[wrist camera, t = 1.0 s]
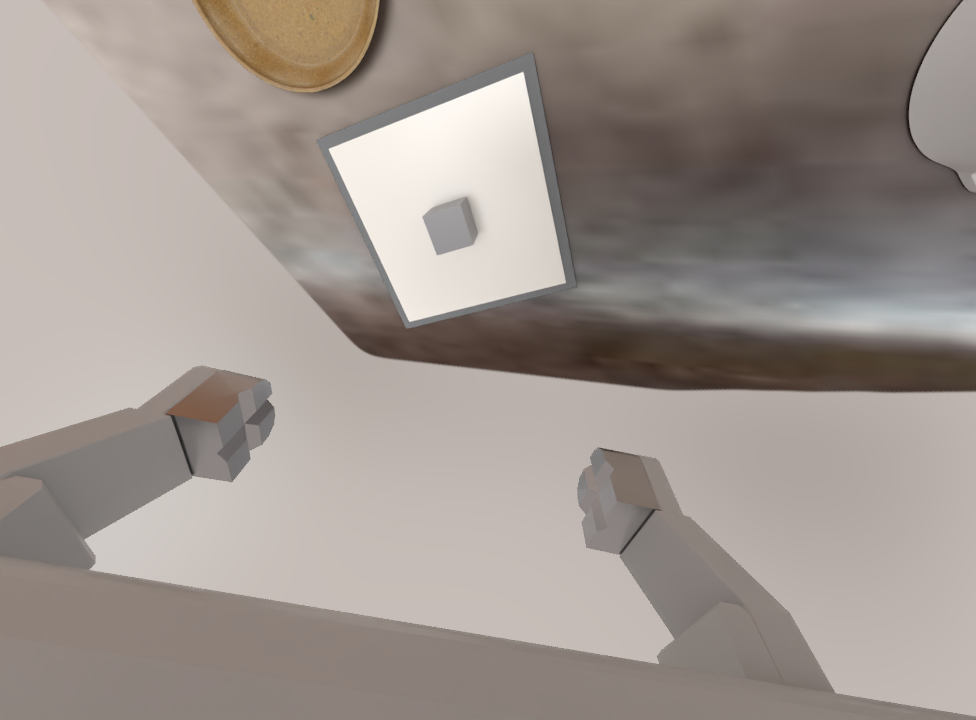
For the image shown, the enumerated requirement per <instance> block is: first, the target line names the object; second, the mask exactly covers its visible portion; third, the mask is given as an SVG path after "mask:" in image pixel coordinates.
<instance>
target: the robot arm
mask: <svg viewBox="0 0 976 720" xmlns="http://www.w3.org/2000/svg"><path fill="white" fill-rule="evenodd" d="M909 125H910V131H911V134H912V137H913V140H914V142H915V144H916V145H917V147H918V148H919V150H920V151H921V152H922V153H923V154H924V155H925V156H926V157H928V158H929V159H931V160H933V161H935V162H937V163H939V164H942V165H945V166H947V167H950V168H952V169H954V170H955V171H956V172H957V173H958V175H959V177H960V179H961V181H962V183H963V185H964V186H965V187H966V188H967V189H968V190H969V191H971V192H976V0H963V1H962V2H961V4H960V5H959V6H958V7H957V8H956V10H955V11H954V12H953V14H952V15H951V16H950V18H949V19H948V20H947V22H946V23H945V25H944V26H943V27H942V29H941V30H940V32H939V33H938V35H937V37H936V38H935V40H934V42H933V43H932V45H931V47H930V49H929V50H928V52H927V54H926V56H925V58H924V60H923V62H922V65H921V67H920V69H919V72H918V74H917V77H916V80H915V83H914V86H913V90H912V94H911V99H910V106H909ZM271 394H272V390H271V384H270V382H268V381H267V380H265V379H260V378H256V377H252V376H247V375H243V374H239V373H234V372H230V371H225V370H219V369H215V368H210V367H206V366H198V367H194V368H192V369H191V370H189V371H188V372H187V373H185V374H184V375H183V376H181V377H180V378H179V379H177V380H176V381H174V382H173V383H172V384H170V385H169V386H168V387H166V388H165V389H164V390H162V391H161V392H160V393H158V394H157V395H156V396H154V397H153V398H151V399H150V400H149V401H147V402H146V403H145V404H143V405H142V406H141V407H139V408H138V409H133V408H127V409H124V410H120V411H117V412H114V413H110V414H107V415H104V416H101V417H98V418H94V419H91V420H88V421H84V422H81V423H78V424H74V425H71V426H68V427H65V428H61V429H58V430H55V431H52V432H48V433H45V434H42V435H38V436H35V437H32V438H29V439H25V440H22V441H19V442H16V443H13V444H9V445H6V446H2V447H0V720H976V717H975V716H969V715H963V714H957V713H951V712H945V711H939V710H933V709H927V708H921V707H915V706H909V705H903V704H897V703H891V702H885V701H879V700H873V699H866V698H861V697H854V696H849V695H843V694H836V693H835V692H834V690H833V688H832V686H831V685H830V683H829V681H828V679H827V678H826V676H825V674H824V673H823V671H822V669H821V667H820V665H819V663H818V662H817V660H816V658H815V656H814V655H813V653H812V651H811V649H810V648H809V646H808V644H807V643H806V641H805V639H804V637H803V635H802V634H801V632H800V630H799V629H798V627H797V625H796V623H795V621H794V620H793V618H792V616H791V614H790V613H789V612H788V611H787V610H786V609H785V608H784V607H783V606H782V605H781V604H780V603H779V602H778V601H777V600H776V599H775V598H774V597H773V596H772V595H770V593H768V592H767V591H766V590H765V589H764V588H763V587H762V586H761V585H760V584H759V583H758V582H757V581H756V580H755V579H754V578H753V577H752V576H751V575H750V574H748V572H747V571H746V570H745V569H744V568H742V567H741V566H740V565H739V564H738V563H737V562H736V561H735V560H734V559H733V558H732V557H731V556H730V555H729V554H728V553H727V552H725V550H724V549H723V548H722V547H721V546H720V545H719V544H717V543H716V542H715V541H714V540H713V539H712V538H711V537H710V536H709V535H708V534H707V533H706V532H705V531H704V530H703V529H702V528H701V527H700V526H699V525H698V524H697V523H696V522H695V521H693V520H692V519H691V518H690V517H688V516H684V515H683V513H682V511H681V509H680V507H679V504H678V502H677V500H676V498H675V495H674V493H673V491H672V489H671V486H670V484H669V482H668V480H667V477H666V475H665V473H664V471H663V468H662V466H661V464H660V462H659V461H658V460H657V459H656V458H651V457H646V456H640V455H634V454H629V453H624V452H619V451H613V450H608V449H603V448H597V449H596V450H594V452H593V453H592V455H591V457H590V459H591V464H592V465H591V466H589V467H587V468H585V469H584V470H583V472H582V474H581V476H580V478H579V483H578V503H579V506H580V508H581V509H582V510H583V511H584V512H585V514H586V516H585V517H584V519H583V521H582V526H583V531H584V537H585V542H586V547H587V548H591V549H595V550H600V551H605V552H609V553H614V554H619V555H620V558H621V559H622V561H623V562H624V564H625V565H626V567H627V568H628V570H629V571H630V573H631V574H632V576H633V577H634V579H635V580H636V581H637V583H638V585H639V586H640V588H641V589H642V591H643V592H644V594H645V595H646V597H647V598H648V600H649V601H650V603H651V604H652V605H653V607H654V609H655V610H656V612H657V613H658V615H659V616H660V618H661V619H662V620H663V622H664V623H665V625H666V626H667V628H668V629H669V631H670V633H671V634H672V635H673V637H674V640H673V641H672V642H671V643H670V644H668V645H667V646H666V647H665V648H664V649H662V650H661V652H660V653H659V654H658V656H657V657H658V661H659V664H654V663H648V662H642V661H636V660H630V659H624V658H618V657H612V656H606V655H600V654H594V653H588V652H581V651H575V650H570V649H564V648H558V647H552V646H546V645H540V644H533V643H527V642H522V641H515V640H509V639H503V638H497V637H491V636H485V635H479V634H473V633H467V632H461V631H455V630H449V629H443V628H437V627H430V626H425V625H419V624H413V623H407V622H401V621H394V620H389V619H383V618H376V617H371V616H364V615H358V614H352V613H346V612H340V611H334V610H328V609H322V608H316V607H310V606H304V605H298V604H292V603H286V602H280V601H274V600H268V599H262V598H256V597H249V596H243V595H237V594H231V593H225V592H219V591H212V590H207V589H201V588H194V587H189V586H182V585H176V584H171V583H165V582H158V581H152V580H146V579H140V578H134V577H128V576H122V575H116V574H110V573H104V572H97V571H92V570H89V569H90V568H91V567H92V566H93V565H94V564H95V555H94V553H93V552H92V550H91V549H90V548H89V546H88V545H87V543H86V542H85V541H84V539H85V538H87V537H89V536H91V535H93V534H94V533H96V532H98V531H100V530H101V529H103V528H105V527H107V526H108V525H110V524H112V523H114V522H116V521H117V520H119V519H121V518H123V517H124V516H126V515H128V514H130V513H131V512H133V511H135V510H137V509H138V508H140V507H142V506H144V505H145V504H147V503H149V502H151V501H153V500H154V499H156V498H158V497H160V496H161V495H163V494H165V493H167V492H168V491H170V490H172V489H174V488H175V487H177V486H179V485H180V484H182V483H184V482H186V481H188V480H189V479H191V478H192V476H197V477H203V478H209V479H216V480H223V481H228V482H233V480H234V479H235V478H236V477H237V475H238V474H239V473H240V472H241V470H242V469H243V468H244V466H245V465H246V464H247V463H248V462H249V460H250V450H252V449H254V448H256V447H258V446H260V445H262V444H263V442H264V441H265V440H266V439H267V437H268V436H269V434H270V432H271V430H272V427H273V425H274V419H275V411H274V407H273V406H272V404H271V403H270V402H269V401H268V400H267V399H268V397H269V396H270V395H271Z"/></svg>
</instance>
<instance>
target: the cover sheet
mask: <svg viewBox="0 0 976 720" xmlns="http://www.w3.org/2000/svg"><path fill="white" fill-rule="evenodd" d="M329 151H330V154H331V156H332V158H333V160H334V162H335V164H336V166H337V168H338V171H339V173H340V175H341V177H342V179H343V181H344V183H345V186H346V188H347V190H348V192H349V194H350V196H351V198H352V201H353V203H354V205H355V207H356V209H357V211H358V213H359V216H360V218H361V220H362V222H363V224H364V226H365V228H366V230H367V233H368V235H369V237H370V239H371V241H372V243H373V245H374V248H375V250H376V252H377V254H378V256H379V258H380V260H381V263H382V265H383V267H384V269H385V271H386V273H387V275H388V278H389V280H390V282H391V284H392V286H393V288H394V290H395V292H396V295H397V297H398V299H399V301H400V303H401V305H402V307H403V310H404V312H405V314H406V316H407V318H408V320H409V322H411V321H415V320H419V319H423V318H427V317H431V316H435V315H439V314H443V313H447V312H451V311H455V310H459V309H463V308H467V307H471V306H475V305H479V304H483V303H487V302H491V301H495V300H499V299H503V298H507V297H511V296H515V295H519V294H523V293H527V292H531V291H535V290H539V289H543V288H548V287H552V286H556V285H560V284H564V283H566V280H565V275H564V270H563V265H562V260H561V255H560V250H559V245H558V240H557V235H556V230H555V225H554V221H553V216H552V211H551V206H550V201H549V196H548V191H547V186H546V181H545V176H544V171H543V166H542V161H541V156H540V151H539V146H538V141H537V136H536V131H535V127H534V122H533V117H532V112H531V107H530V102H529V97H528V92H527V87H526V82H525V77H524V72H521V73H519V74H516V75H514V76H511V77H509V78H506V79H504V80H501V81H499V82H496V83H494V84H491V85H489V86H486V87H484V88H481V89H479V90H476V91H473V92H471V93H468V94H466V95H463V96H461V97H458V98H456V99H453V100H451V101H448V102H446V103H443V104H441V105H438V106H436V107H433V108H431V109H428V110H426V111H423V112H420V113H418V114H415V115H413V116H410V117H408V118H405V119H403V120H400V121H398V122H395V123H393V124H390V125H388V126H385V127H383V128H380V129H378V130H375V131H372V132H370V133H367V134H365V135H362V136H360V137H357V138H355V139H352V140H350V141H347V142H345V143H342V144H340V145H337V146H335V147H332V148H330V149H329Z"/></svg>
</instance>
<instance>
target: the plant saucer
mask: <svg viewBox="0 0 976 720" xmlns="http://www.w3.org/2000/svg"><path fill="white" fill-rule="evenodd" d="M192 1H193V3H194V5H195V6H196V8H197V10H198V12H199V14H200V15H201V17H202V19H203V20H204V22H205V23H206V24H207V26H208V28H209V29H210V31H211V32H212V33H213V35H214V36H215V37H216V38H217V40H218V41H219V42H220V44H221V45H222V46H223V47H224V48H225V49H226V50H227V52H228V53H229V54H230V55H231V56H232V57H233V58H234V59H236V60H237V61H238V62H239V63H240V64H241V65H242V66H243V67H244V68H246V69H247V70H248V71H249V72H251V73H252V74H254V75H255V76H257V77H258V78H260V79H261V80H263V81H265V82H267V83H269V84H271V85H273V86H275V87H278V88H281V89H284V90H288V91H292V92H299V93H300V92H301V93H311V92H318V91H322V90H325V89H327V88H330V87H332V86H334V85H336V84H338V83H339V82H341V81H342V80H343V79H345V78H346V77H347V76H349V74H350V73H352V72H353V71H354V69H355V68H356V67H357V66H358V64H359V63H360V61H361V60H362V58H363V57H364V55H365V53H366V51H367V49H368V46H369V44H370V42H371V39H372V36H373V33H374V29H375V26H376V21H377V16H378V9H379V1H380V0H192Z"/></svg>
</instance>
